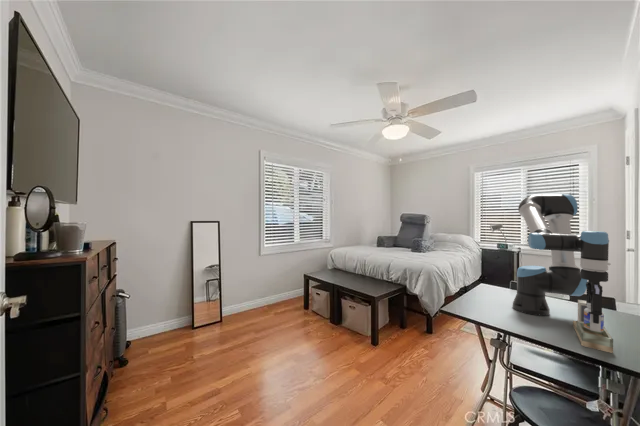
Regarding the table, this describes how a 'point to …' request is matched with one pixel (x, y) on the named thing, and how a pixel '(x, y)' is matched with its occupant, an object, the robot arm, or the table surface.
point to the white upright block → (581, 310)
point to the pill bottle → (587, 318)
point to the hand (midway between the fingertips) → (593, 328)
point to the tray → (593, 338)
